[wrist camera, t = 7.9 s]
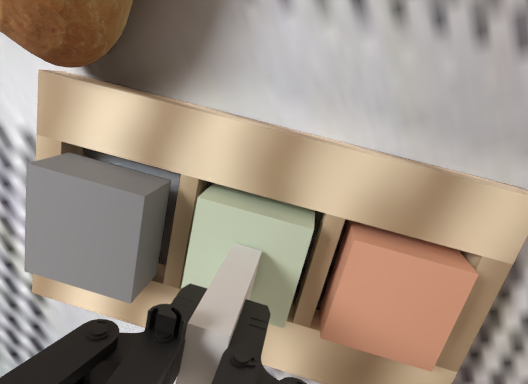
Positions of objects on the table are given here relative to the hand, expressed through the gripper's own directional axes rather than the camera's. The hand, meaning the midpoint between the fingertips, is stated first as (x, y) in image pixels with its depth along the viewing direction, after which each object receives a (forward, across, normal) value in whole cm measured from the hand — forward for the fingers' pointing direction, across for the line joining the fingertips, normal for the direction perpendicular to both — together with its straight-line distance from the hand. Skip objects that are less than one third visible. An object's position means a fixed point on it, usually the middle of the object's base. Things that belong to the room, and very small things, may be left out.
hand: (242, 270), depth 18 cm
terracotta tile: (+3, +8, 0) cm, 9 cm away
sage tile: (+3, 0, 0) cm, 3 cm away
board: (+4, 0, 0) cm, 4 cm away
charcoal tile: (+2, -8, 0) cm, 8 cm away
